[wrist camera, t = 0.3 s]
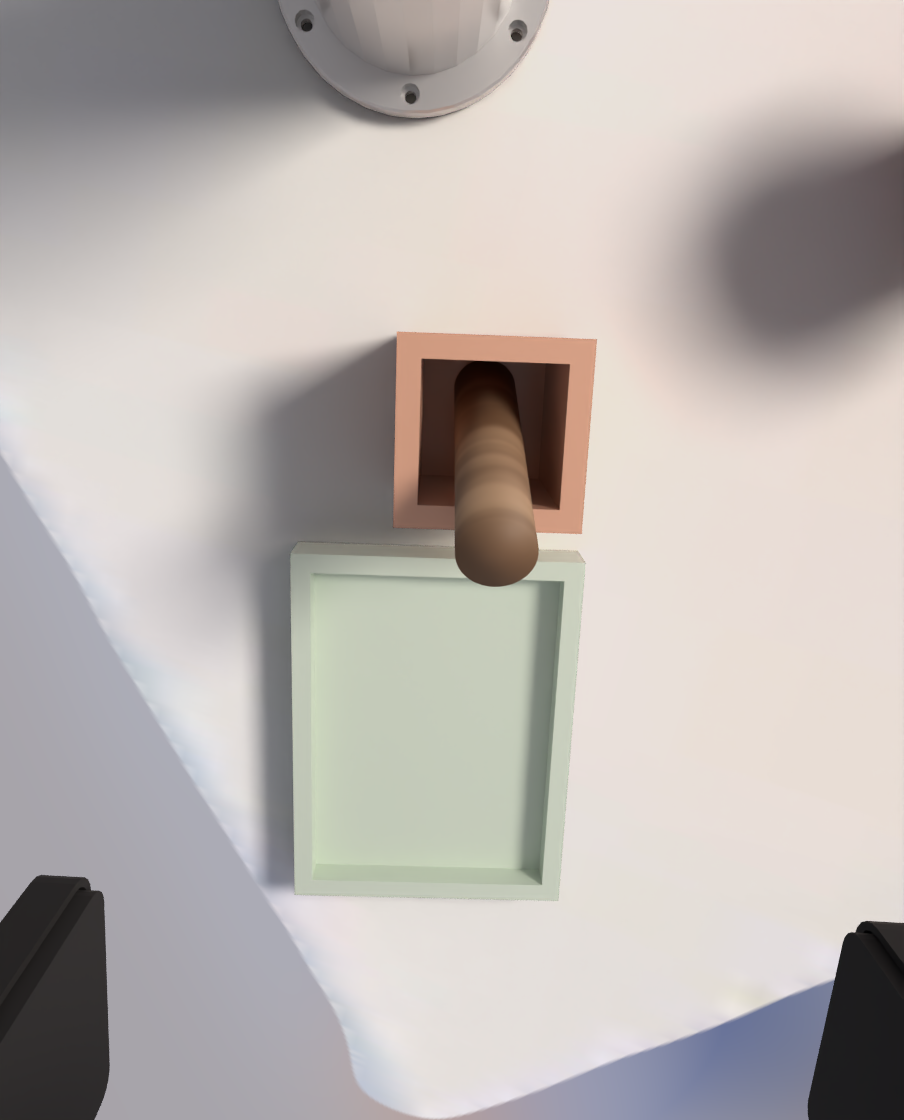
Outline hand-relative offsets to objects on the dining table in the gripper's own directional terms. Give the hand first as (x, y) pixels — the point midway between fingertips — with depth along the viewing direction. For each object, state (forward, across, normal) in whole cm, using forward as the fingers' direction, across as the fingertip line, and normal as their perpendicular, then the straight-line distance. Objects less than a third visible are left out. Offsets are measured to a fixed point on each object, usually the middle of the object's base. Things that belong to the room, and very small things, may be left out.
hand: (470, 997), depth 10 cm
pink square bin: (+35, -1, -4) cm, 35 cm away
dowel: (+34, -1, -4) cm, 34 cm away
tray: (+35, 0, +13) cm, 37 cm away
